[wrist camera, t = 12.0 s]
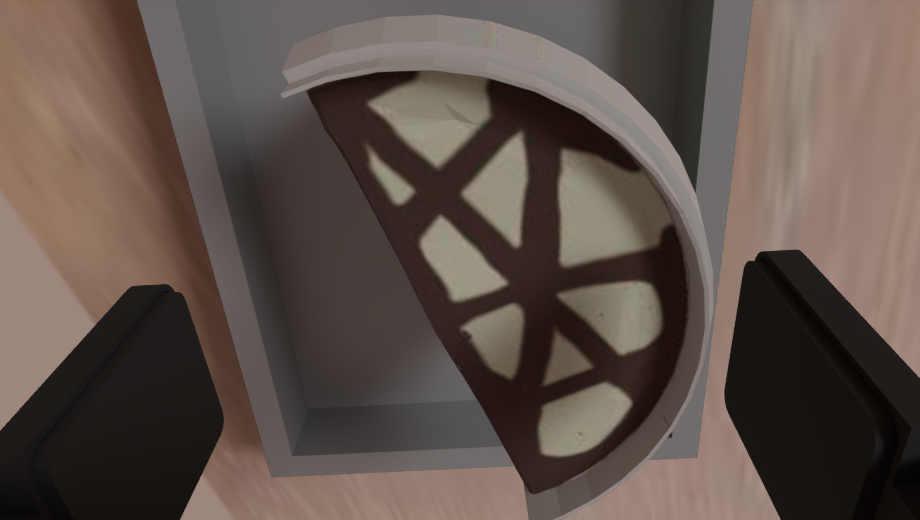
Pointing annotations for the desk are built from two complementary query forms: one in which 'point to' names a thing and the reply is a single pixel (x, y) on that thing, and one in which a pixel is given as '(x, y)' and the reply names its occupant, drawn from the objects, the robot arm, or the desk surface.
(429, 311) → the food container
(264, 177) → the parts tray
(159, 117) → the desk surface
